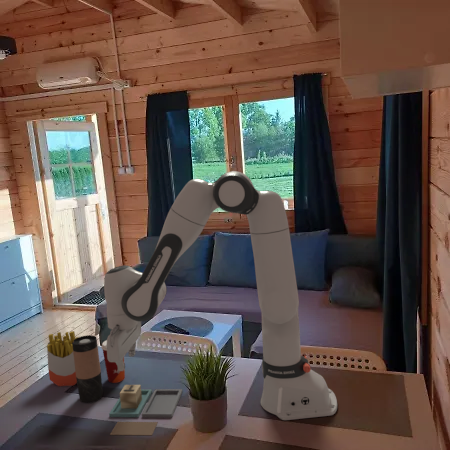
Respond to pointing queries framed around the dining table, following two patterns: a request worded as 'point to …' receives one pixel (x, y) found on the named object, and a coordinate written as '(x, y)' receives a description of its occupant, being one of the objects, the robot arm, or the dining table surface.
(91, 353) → the travel mug
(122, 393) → the letter cube
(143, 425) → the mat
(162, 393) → the gray bin
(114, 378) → the paper cup
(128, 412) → the teal bin
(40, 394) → the dining table surface
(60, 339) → the french fries container
